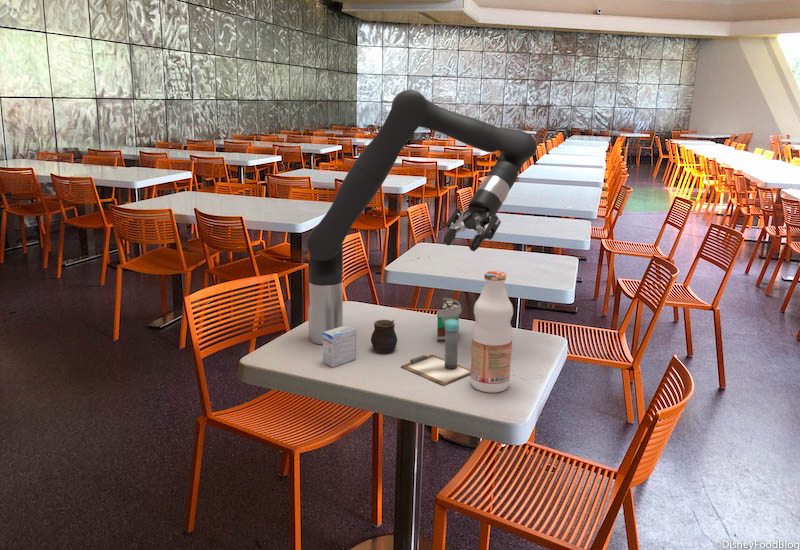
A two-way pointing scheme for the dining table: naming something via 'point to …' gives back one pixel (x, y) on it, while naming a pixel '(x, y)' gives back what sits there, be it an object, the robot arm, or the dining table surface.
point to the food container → (446, 316)
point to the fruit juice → (492, 336)
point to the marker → (451, 343)
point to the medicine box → (339, 346)
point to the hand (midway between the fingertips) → (458, 246)
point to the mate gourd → (384, 336)
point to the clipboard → (435, 369)
